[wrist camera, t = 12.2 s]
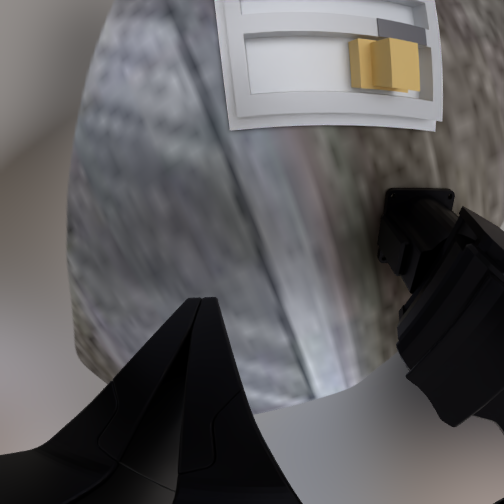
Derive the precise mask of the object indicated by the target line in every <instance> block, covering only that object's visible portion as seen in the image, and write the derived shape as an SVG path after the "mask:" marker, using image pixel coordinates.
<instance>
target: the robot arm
mask: <svg viewBox="0 0 504 504" xmlns="http://www.w3.org/2000/svg"><path fill="white" fill-rule="evenodd" d="M393 193H395V195H394V197H391V195H392V194H393ZM449 194H450V196H449V197H448V195H449ZM454 197H455V194H454V192H453V191H452V190H450V189H431V188H391V189H389V190H388V191H387V193H386V199H385V208H384V215H383V216H382V217H381V222H380V230H379V236H378V243H377V244H378V246H379V250H378V259H379V261H380V262H381V263H389V265H390V267H391V269H392V270H393V272H394V274H395V275H396V276H401V277H402V279H403V281H404V283H405V284H406V286H407V288H408V290H409V292H410V293H411V294H412V296H411V297H410V299H409V300H408V301H407V303H406V304H405V305H403V306H402V307H401V309H400V310H399V324H398V327H397V330H398V339H399V341H398V342H397V344H396V347H397V350H398V352H399V354H400V357H401V359H402V360H403V362H404V363H405V365H406V367H407V368H408V370H409V372H408V373H407V374H406V378H407V379H408V380H409V381H411V382H412V383H413V384H415V385H416V386H418V387H419V388H420V389H421V391H423V393H424V394H425V395H426V396H427V397H428V399H429V400H430V402H431V403H432V405H433V407H434V408H435V410H436V412H437V414H438V415H439V417H440V419H441V420H442V421H444V422H445V423H447V424H448V425H450V426H452V427H457V426H458V425H460V424H461V423H463V422H464V421H465V420H467V419H468V418H469V417H471V416H474V417H477V418H481V419H485V420H489V421H492V422H494V423H496V425H497V426H498V427H499V428H500V430H501V431H502V433H503V434H504V231H502V230H501V229H500V228H499V227H498V226H496V225H494V224H493V223H491V222H489V221H488V220H486V219H484V218H483V217H481V216H479V215H478V214H476V213H474V212H472V211H471V210H469V209H467V208H465V207H464V206H462V208H461V210H460V212H459V214H460V216H459V217H458V216H457V215H456V214H455V213H454V212H453V211H452V207H453V202H454ZM383 256H385V257H384V258H382V257H383ZM0 504H303V503H302V502H301V501H300V499H299V498H298V496H297V495H296V493H295V492H294V491H293V489H292V487H291V485H290V484H289V482H288V481H287V479H286V477H285V475H284V474H283V472H282V470H281V469H280V467H279V465H278V464H277V462H276V460H275V458H274V457H273V455H272V453H271V451H270V449H269V448H268V446H267V444H266V442H265V440H264V438H263V437H262V434H261V432H260V430H259V428H258V426H257V424H256V422H255V419H254V417H253V414H252V411H251V409H250V406H249V403H248V400H247V397H246V394H245V391H244V388H243V385H242V382H241V378H240V375H239V372H238V369H237V365H236V362H235V359H234V355H233V352H232V348H231V345H230V342H229V338H228V335H227V331H226V328H225V324H224V320H223V317H222V313H221V310H220V306H219V302H218V299H217V298H216V297H204V298H203V299H202V298H200V297H199V298H188V299H187V300H186V301H185V302H184V303H183V304H182V305H181V306H180V307H179V308H178V309H177V310H176V311H175V312H174V313H173V314H172V316H171V317H170V318H169V319H168V320H167V321H166V322H165V323H164V324H163V325H162V326H161V327H160V328H159V329H158V331H157V332H156V333H155V334H154V335H153V336H152V337H151V338H150V339H149V340H148V341H147V342H146V343H145V345H144V346H143V347H142V348H141V349H140V350H139V351H138V352H137V353H136V354H135V355H134V356H133V358H132V359H131V360H130V361H129V362H128V363H127V364H126V365H125V366H124V367H123V368H122V369H121V371H120V372H119V373H118V374H117V375H116V376H115V377H114V378H113V381H110V382H109V384H108V385H107V386H106V387H105V388H104V389H103V390H102V391H101V392H100V394H98V395H97V396H96V397H95V399H94V400H93V401H92V402H91V403H90V404H89V405H88V406H87V407H85V408H84V409H83V410H82V411H81V412H80V413H79V414H78V415H77V416H76V417H75V418H74V419H72V420H71V421H70V422H69V423H68V424H67V425H66V426H65V427H63V428H62V429H61V430H60V431H59V432H58V433H57V434H56V435H54V436H53V437H52V438H51V439H50V440H49V441H47V442H46V443H44V444H43V445H41V446H39V447H37V448H34V449H32V450H27V451H22V452H16V453H11V454H5V455H0ZM494 504H504V498H502V499H501V500H499V501H497V502H495V503H494Z"/></svg>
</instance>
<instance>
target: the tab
mask: <svg viewBox="0 0 504 504" xmlns="http://www.w3.org/2000/svg"><path fill="white" fill-rule="evenodd" d="M348 45H349V56H350V70H351V87H354V88H366V89H378V90H388V91H396V92H404V93H408V90H413V91H419V92H420V70H419V53H418V43H414V42H409V41H405V40H400V39H394V38H386V39H382V40H378V41H376V40H368V39H360V38H357V39H355V40H352V41H350V42H348Z"/></svg>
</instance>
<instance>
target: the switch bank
mask: <svg viewBox="0 0 504 504" xmlns="http://www.w3.org/2000/svg"><path fill="white" fill-rule="evenodd" d="M214 1H215V10H216V18H217V27H218V36H219V44H220V53H221V61H222V70H223V78H224V86H225V95H226V103H227V111H228V119H229V127H230V131H233V130H242V129H253V128H266V127H281V126H305V125H358V126H381V127H396V128H408V129H418V130H427V131H435V128H436V121H442V113H443V75H442V56H441V43H440V34H439V26H438V18H437V12H436V6H435V0H214ZM357 38H360V39H368V40H376V41H378V40H382V39H386V38H394V39H400V40H405V41H409V42H414V43H418V53H419V70H420V92H419V91H413V90H408V93H404V92H396V91H388V90H378V89H366V88H354V87H351V70H350V56H349V45H348V42H350V41H352V40H355V39H357Z"/></svg>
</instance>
